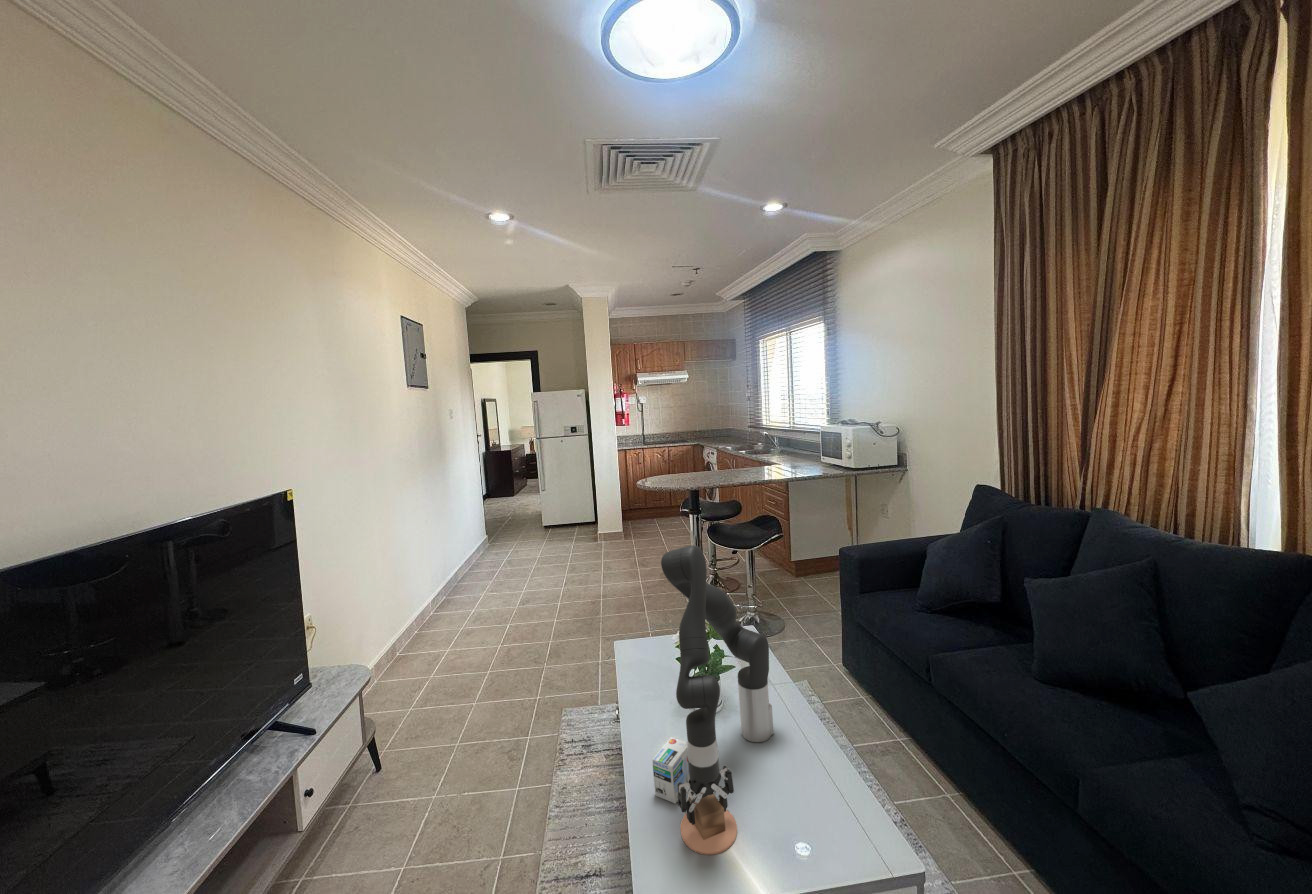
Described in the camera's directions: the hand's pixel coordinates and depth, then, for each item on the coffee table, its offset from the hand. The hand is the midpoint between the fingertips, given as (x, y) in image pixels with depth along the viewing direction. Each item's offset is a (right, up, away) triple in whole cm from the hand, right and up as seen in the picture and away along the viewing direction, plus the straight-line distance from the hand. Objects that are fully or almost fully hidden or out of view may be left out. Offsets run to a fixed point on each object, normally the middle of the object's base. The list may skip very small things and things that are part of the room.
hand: (707, 815), depth 129 cm
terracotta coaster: (0, -4, 0) cm, 4 cm away
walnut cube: (0, -3, 0) cm, 3 cm away
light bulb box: (-8, -3, +16) cm, 18 cm away
